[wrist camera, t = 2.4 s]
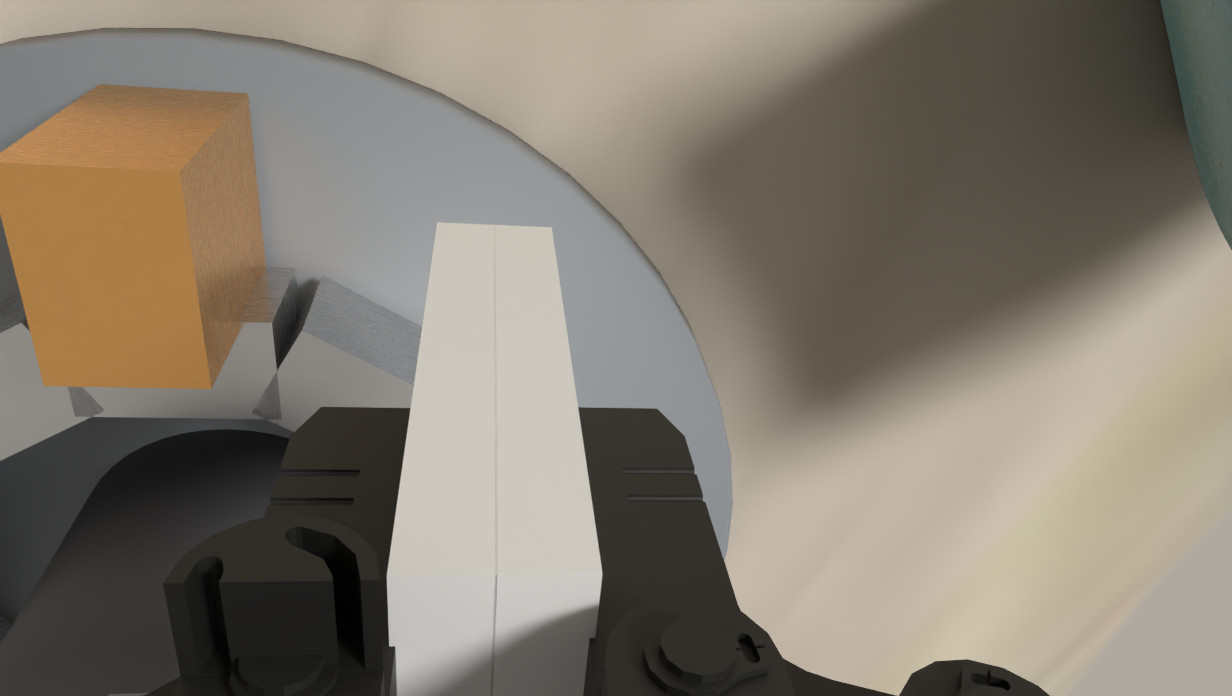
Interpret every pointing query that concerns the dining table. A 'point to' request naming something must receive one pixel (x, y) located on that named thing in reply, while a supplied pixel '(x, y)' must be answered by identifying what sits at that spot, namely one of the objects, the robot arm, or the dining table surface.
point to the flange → (315, 245)
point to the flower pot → (1206, 93)
